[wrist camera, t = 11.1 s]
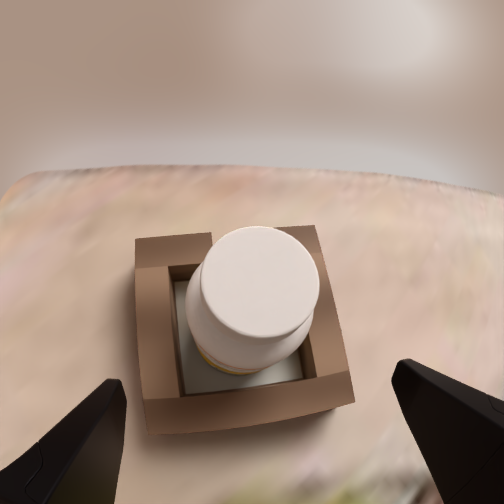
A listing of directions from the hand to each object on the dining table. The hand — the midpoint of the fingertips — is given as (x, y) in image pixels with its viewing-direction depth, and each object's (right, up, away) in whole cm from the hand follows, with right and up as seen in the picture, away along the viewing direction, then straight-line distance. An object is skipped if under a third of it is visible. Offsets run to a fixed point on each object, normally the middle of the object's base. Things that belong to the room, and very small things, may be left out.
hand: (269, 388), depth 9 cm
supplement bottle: (-1, -1, +10) cm, 10 cm away
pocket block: (-2, -1, +11) cm, 11 cm away
